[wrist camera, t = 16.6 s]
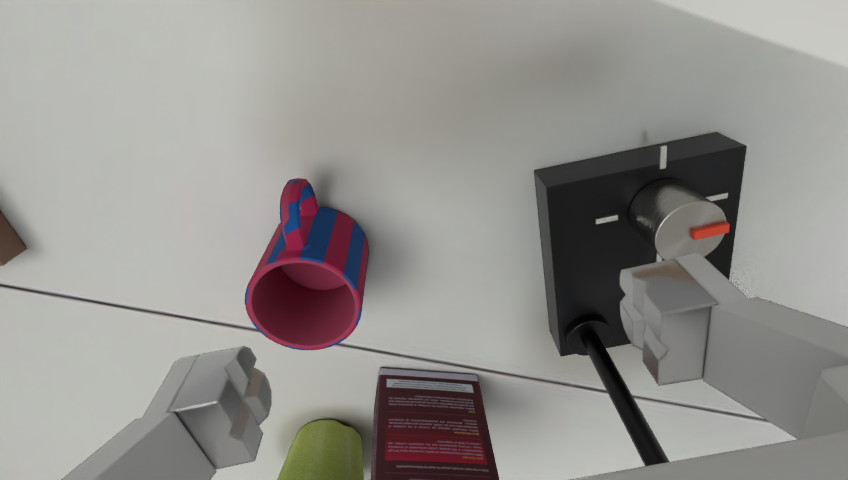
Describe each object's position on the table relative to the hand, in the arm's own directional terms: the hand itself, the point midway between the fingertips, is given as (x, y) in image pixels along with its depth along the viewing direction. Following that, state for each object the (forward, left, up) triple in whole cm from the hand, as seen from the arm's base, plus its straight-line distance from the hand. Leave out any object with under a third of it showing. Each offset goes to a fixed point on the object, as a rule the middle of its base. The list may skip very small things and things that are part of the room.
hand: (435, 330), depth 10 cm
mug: (+7, -8, -21) cm, 24 cm away
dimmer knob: (+9, +14, -18) cm, 25 cm away
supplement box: (+24, -4, -21) cm, 32 cm away
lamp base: (+13, +13, -21) cm, 28 cm away
